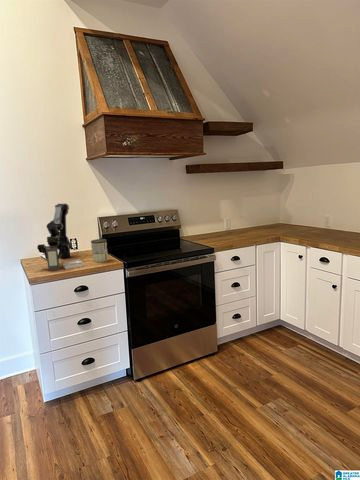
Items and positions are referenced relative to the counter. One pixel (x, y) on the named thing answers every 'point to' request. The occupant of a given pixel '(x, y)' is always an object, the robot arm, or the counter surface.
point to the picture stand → (72, 264)
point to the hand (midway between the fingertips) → (52, 259)
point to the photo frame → (52, 258)
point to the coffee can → (99, 250)
